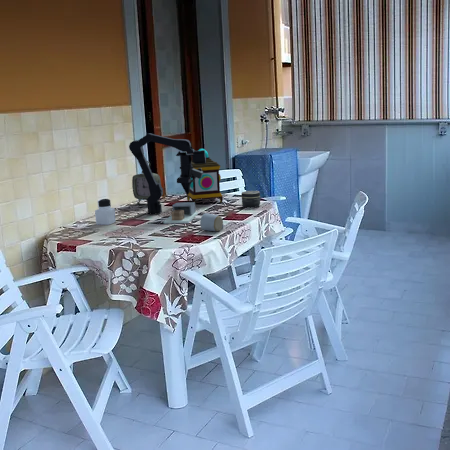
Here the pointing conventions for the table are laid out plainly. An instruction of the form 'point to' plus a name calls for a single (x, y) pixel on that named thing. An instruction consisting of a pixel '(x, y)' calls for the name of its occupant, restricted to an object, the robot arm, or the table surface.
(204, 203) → the table surface
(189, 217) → the board
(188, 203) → the cover
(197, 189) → the decorative lantern
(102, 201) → the medicine bottle
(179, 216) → the block
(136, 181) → the tabletop clock
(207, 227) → the ceramic mug
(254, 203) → the jar
